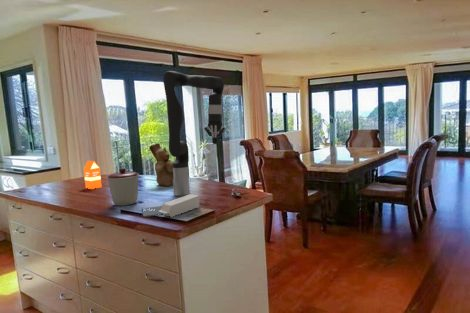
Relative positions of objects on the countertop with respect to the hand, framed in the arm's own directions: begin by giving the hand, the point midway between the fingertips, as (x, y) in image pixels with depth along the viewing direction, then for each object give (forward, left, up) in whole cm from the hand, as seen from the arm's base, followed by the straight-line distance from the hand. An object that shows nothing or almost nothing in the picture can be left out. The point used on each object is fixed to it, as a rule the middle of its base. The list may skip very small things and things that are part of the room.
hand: (215, 144), depth 198 cm
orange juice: (-109, +22, -32) cm, 116 cm away
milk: (-5, -19, -28) cm, 34 cm away
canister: (-51, -17, -32) cm, 63 cm away
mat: (-19, -27, -32) cm, 46 cm away
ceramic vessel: (-58, +38, -32) cm, 76 cm away
